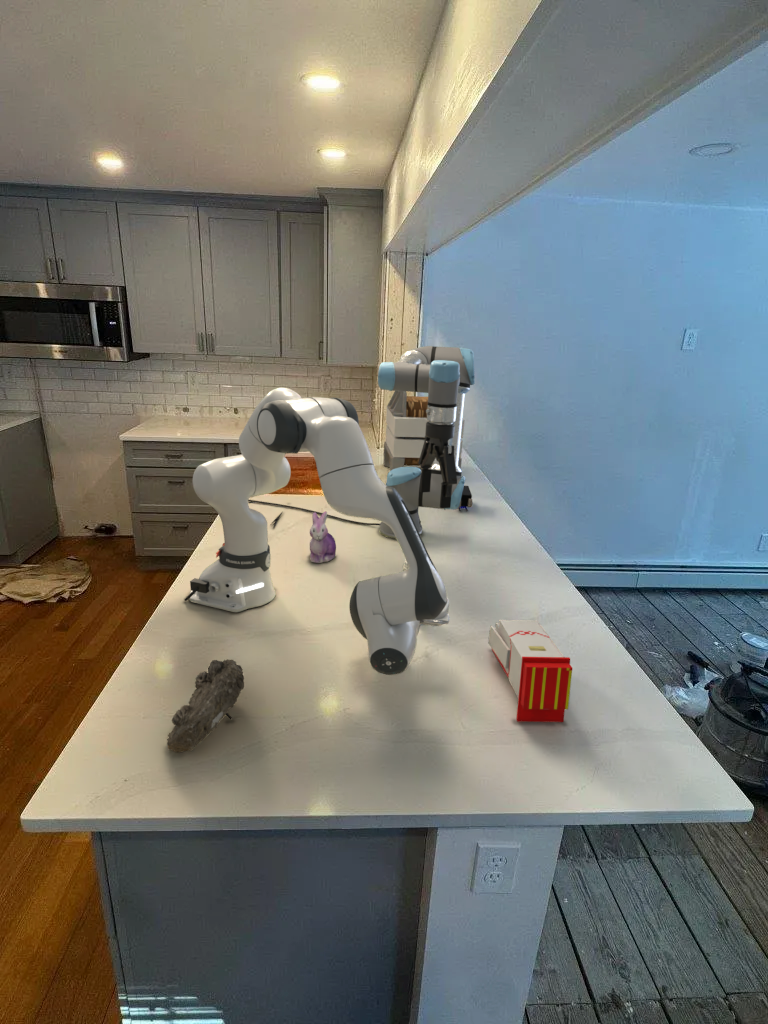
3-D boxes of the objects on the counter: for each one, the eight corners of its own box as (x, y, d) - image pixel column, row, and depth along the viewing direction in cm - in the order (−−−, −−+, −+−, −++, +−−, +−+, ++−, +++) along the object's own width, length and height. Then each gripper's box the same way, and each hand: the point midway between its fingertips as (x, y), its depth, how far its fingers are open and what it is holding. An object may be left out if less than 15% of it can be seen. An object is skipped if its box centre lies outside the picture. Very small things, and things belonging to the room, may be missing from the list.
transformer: (382, 463, 289) (386, 382, 275) (445, 464, 293) (451, 384, 279) (390, 482, 257) (394, 392, 243) (460, 483, 261) (468, 394, 247)
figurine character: (472, 516, 224) (466, 500, 237) (474, 499, 220) (469, 483, 234) (455, 515, 224) (451, 499, 237) (457, 498, 220) (452, 483, 234)
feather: (289, 506, 225) (292, 502, 225) (272, 529, 199) (275, 525, 198) (286, 503, 225) (288, 500, 225) (268, 527, 199) (271, 522, 198)
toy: (535, 605, 135) (581, 664, 106) (530, 657, 138) (574, 728, 108) (484, 604, 135) (517, 662, 105) (480, 656, 137) (511, 727, 108)
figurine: (314, 566, 172) (314, 520, 167) (302, 553, 180) (302, 509, 175) (342, 561, 176) (343, 516, 171) (330, 549, 184) (330, 505, 179)
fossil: (192, 660, 117) (244, 628, 112) (224, 691, 120) (276, 661, 115) (142, 746, 98) (202, 712, 93) (182, 779, 101) (242, 748, 96)
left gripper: (450, 612, 117) (452, 582, 130) (353, 600, 119) (365, 571, 132) (447, 638, 119) (450, 606, 132) (352, 626, 122) (363, 595, 134)
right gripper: (409, 413, 157) (405, 486, 164) (447, 432, 135) (440, 515, 142) (434, 413, 160) (429, 485, 167) (475, 431, 138) (467, 513, 145)
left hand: (406, 588), depth 132 cm, fingers open, 8 cm apart
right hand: (434, 499), depth 155 cm, fingers open, 13 cm apart
